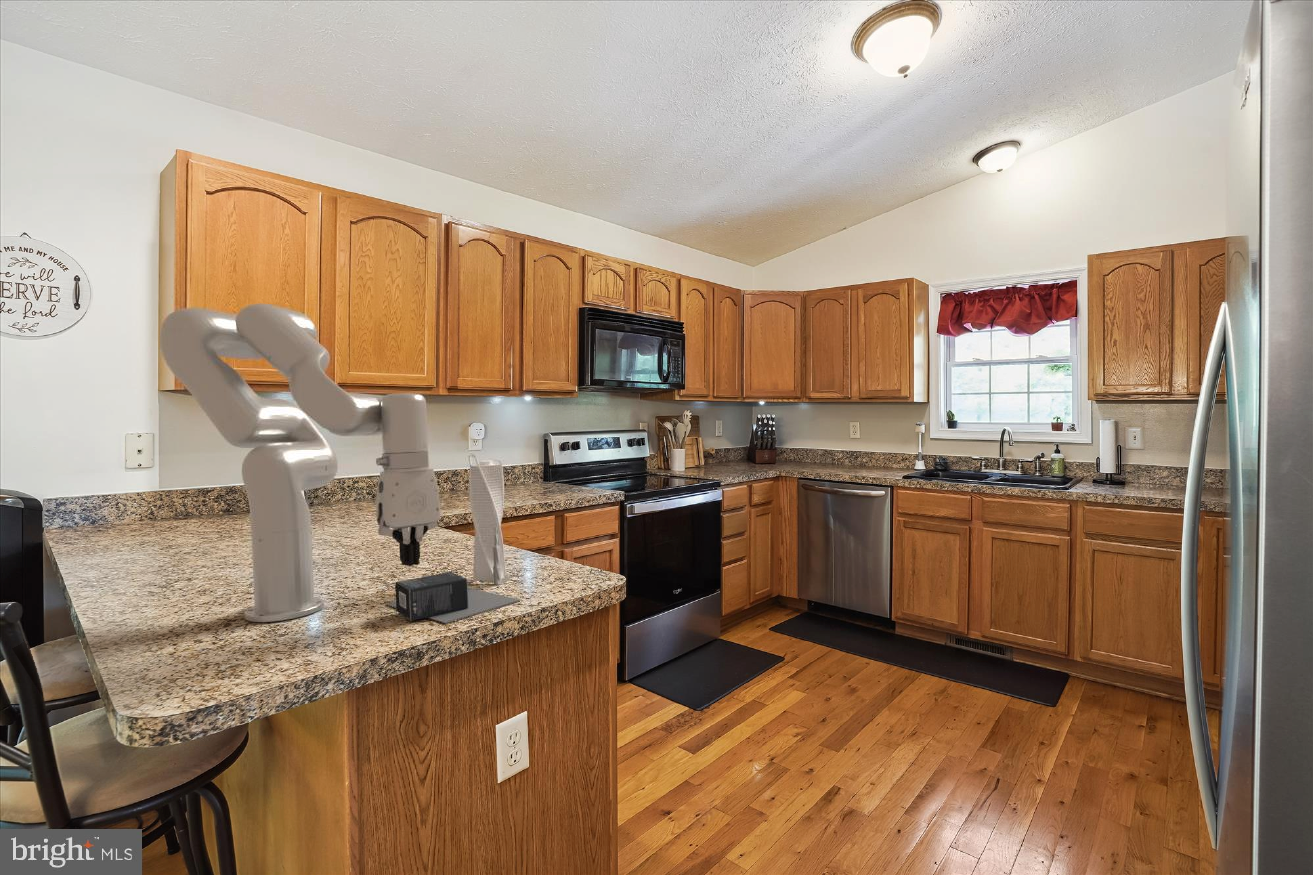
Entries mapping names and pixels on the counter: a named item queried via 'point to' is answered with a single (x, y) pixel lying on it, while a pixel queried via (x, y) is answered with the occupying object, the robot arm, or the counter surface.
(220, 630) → the counter surface
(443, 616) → the mat
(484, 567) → the skyscraper
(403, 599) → the box
